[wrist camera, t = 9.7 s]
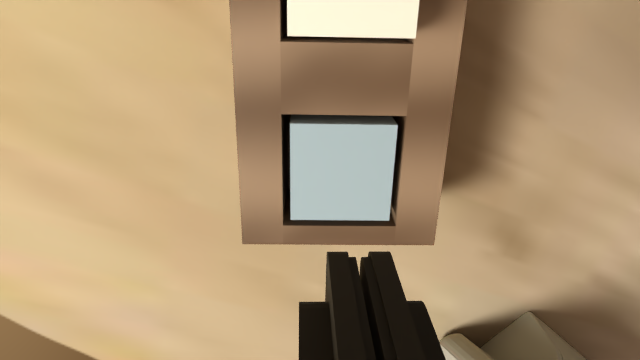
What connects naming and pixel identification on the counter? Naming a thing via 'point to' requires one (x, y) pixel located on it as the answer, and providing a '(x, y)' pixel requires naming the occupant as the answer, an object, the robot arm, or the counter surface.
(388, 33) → the white key
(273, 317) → the counter surface
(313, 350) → the robot arm
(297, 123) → the blue key
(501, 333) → the grey rock
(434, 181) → the frame
